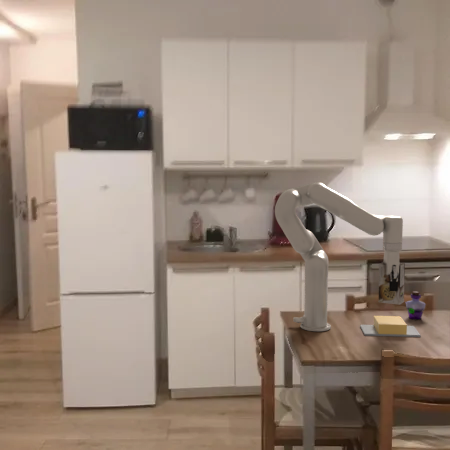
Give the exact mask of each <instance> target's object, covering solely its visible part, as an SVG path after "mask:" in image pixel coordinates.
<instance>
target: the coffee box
mask: <svg viewBox="0 0 450 450" xmlns="http://www.w3.org/2000/svg"><path fill="white" fill-rule="evenodd" d="M405 266H406V264H405V262H399V274H398V272H397V274H398V275H397V276H398V291H389V281H390V274H388V275H386V264H385V263H384V261H381V263H378V299H377V300H378V303H383V304H390V305H392V304H393V305H402V304H403V303H404V302H405V272H406V268H405ZM391 274H393V269H392V273H391Z"/></svg>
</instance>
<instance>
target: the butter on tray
mask: <svg viewBox="0 0 450 450" xmlns="http://www.w3.org/2000/svg"><path fill="white" fill-rule="evenodd" d="M359 327H360V329H361V331H362V333H363V336H366V337H368V336H370V337H374V336H375V337H408V338H411V337H413V338H421V334H420V333H419V331H418V330H417V328H416V327H415V325H408V324H407V323H406V322H405V321H404V319H403V318H402V317H401V316H400V315H399V316H398V315H395V316H394V315H373V324H360V326H359Z"/></svg>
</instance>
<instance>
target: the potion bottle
mask: <svg viewBox="0 0 450 450" xmlns="http://www.w3.org/2000/svg"><path fill="white" fill-rule="evenodd" d="M410 298H411V300H408V301H404V302H405V307H406V310H407V314H408V319H409V320H413V321H414V320H415V321H418V320H419V321H420V320H421V319H422V317H423V313H424V311H425V309H426V305H427V304H426V303H425V302H424V301H421V300H420V299H421V298H422V295H421V294H420V291H412V292H411V293H410Z"/></svg>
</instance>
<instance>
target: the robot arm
mask: <svg viewBox="0 0 450 450" xmlns="http://www.w3.org/2000/svg"><path fill="white" fill-rule="evenodd" d="M309 205H316V206H317V207H320V208H321V209H323V210H325V211H327V212H329V213H330V214H332V215H333V216H335V217H338V218H339V219H340V220H343V221H344V222H347V223H348V224H350V225H351V226H353V227H355V228H357V229H359V230H360V231H362V232H364V233H366V234H367V235H370V236H372V237H373V236H379V235H381V234H382V250H383V251H384V252H383V262H384V263H385V264H386V275H388V274H390V281H389V291H398V276H397V275H398V274H399V263H400V258H401V257H400V252H402V251H403V231H404V229H403V226H404V225H403V224H404V223H403V222H404V221H403V219H404V218H402V217H401V216H398V215H379V214H378V215H377V214H372V213H370V212H368V211H367V210H365V209H363V208H361V207H360V206H358V205H357V204H356V203H354V202H353V201H352V200H351V199H349V198H348V197H347V196H344V195H342V194H341V193H338V192H337V191H335V190H334V189H332V188H330V187H328V186H326V184H324V183H323V182H314V183H310V184H309V183H308V184H306V185H302V186H298V187H292V188H289V189H286V190H284V191H283V192H282V193H281V194H280V195H279V197H278V199H277V201H276V203H275V207H274V215H275V220H276V221H277V223H278V225H279V227H280V228H281V230H282V231H283V233H284V235H285V237H286V238H287V239H288V241H289V243H290V245H291V247H292V248H293V250H294V251H295V252H296V253H298V254H300V256H301V258H302V260H303V261H304V304H303V305H304V309H303V310H304V311H303V312H304V313H303V315H302V316H300V317H297V316H296V317H294V316H293V319H292V320H293V322H294V323H296V324H300V328H301V329H302V330H304V331H309V332H326V331H328V330H329V331H330V330H331V329H332V328H331V326H332V325H331V324H330V323H328V295H329V293H328V291H329V287H328V286H329V263H330V262H329V257H328V255H327V253H326V251H325V249H324V248H323V247H322V245H321V244H320V242H319V241H318V239H317V238H316V236H315V234H314V233H313V232H312V231H310V229H306V227H305V226H304V224H303V222H302V220H301V219H300V218H299V216H298V215H297V212H296V211H297V208H300V207H305V206H309ZM392 269H393V274H391V273H392ZM397 272H398V274H397Z"/></svg>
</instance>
